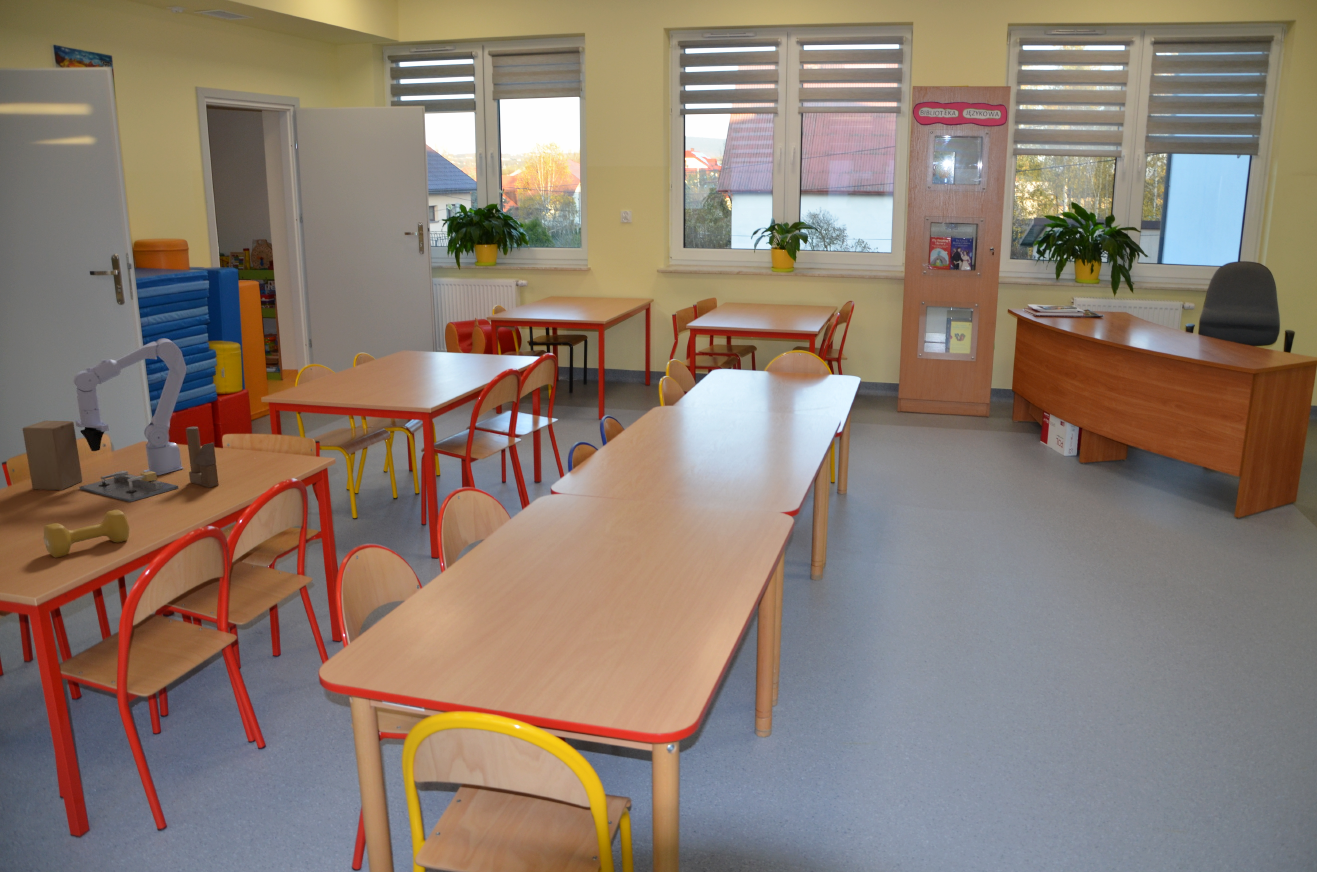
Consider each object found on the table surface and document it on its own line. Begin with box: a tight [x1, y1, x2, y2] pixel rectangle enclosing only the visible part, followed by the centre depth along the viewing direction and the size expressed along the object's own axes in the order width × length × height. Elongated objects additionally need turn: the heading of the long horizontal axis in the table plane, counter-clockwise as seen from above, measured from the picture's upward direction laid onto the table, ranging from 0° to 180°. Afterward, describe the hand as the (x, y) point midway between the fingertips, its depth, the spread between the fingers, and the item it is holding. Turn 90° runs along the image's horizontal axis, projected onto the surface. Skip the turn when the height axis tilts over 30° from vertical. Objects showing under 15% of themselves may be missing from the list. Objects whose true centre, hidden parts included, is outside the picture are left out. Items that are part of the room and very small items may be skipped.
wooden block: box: [22, 420, 83, 491], centre depth 304 cm, size 10×10×20 cm
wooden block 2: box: [185, 426, 220, 489], centre depth 306 cm, size 4×11×18 cm, turn 55°
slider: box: [128, 471, 158, 491], centre depth 300 cm, size 8×3×4 cm, turn 150°
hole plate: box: [78, 470, 179, 503], centre depth 303 cm, size 16×26×4 cm, turn 60°
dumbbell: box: [43, 509, 130, 559], centre depth 253 cm, size 19×9×8 cm, turn 137°
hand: (95, 450), depth 310 cm, fingers closed
